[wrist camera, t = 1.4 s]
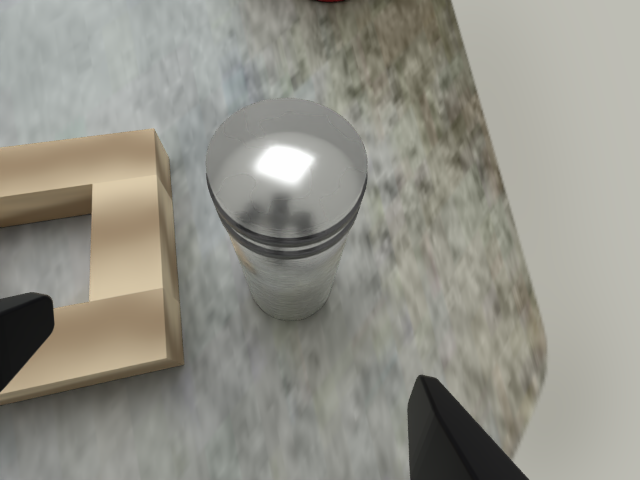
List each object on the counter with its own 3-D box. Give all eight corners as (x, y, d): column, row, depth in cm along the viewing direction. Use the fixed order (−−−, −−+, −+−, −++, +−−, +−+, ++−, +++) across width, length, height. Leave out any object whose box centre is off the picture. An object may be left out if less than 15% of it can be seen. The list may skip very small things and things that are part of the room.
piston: (349, 294, 22) (403, 186, 11) (273, 339, 21) (249, 264, 10) (306, 228, 24) (317, 76, 13) (233, 264, 22) (175, 130, 11)
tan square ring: (184, 364, 20) (166, 358, 17) (-112, 430, 18) (-186, 434, 15) (169, 158, 25) (154, 128, 23) (-58, 189, 23) (-105, 160, 20)
